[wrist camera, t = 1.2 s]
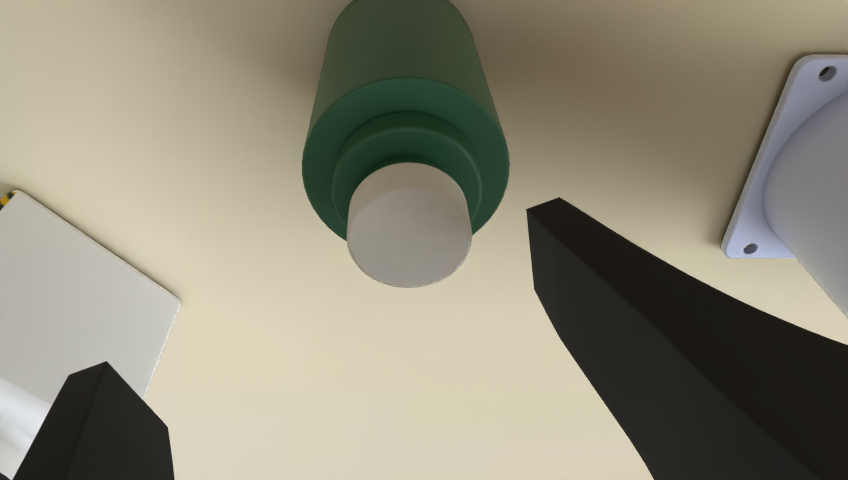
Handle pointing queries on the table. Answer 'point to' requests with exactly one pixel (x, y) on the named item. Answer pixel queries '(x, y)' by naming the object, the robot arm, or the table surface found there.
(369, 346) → the table surface
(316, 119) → the bottle
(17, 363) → the medicine bottle
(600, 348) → the robot arm
